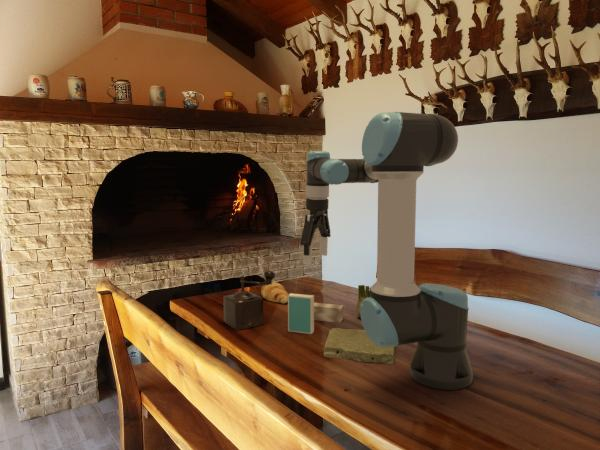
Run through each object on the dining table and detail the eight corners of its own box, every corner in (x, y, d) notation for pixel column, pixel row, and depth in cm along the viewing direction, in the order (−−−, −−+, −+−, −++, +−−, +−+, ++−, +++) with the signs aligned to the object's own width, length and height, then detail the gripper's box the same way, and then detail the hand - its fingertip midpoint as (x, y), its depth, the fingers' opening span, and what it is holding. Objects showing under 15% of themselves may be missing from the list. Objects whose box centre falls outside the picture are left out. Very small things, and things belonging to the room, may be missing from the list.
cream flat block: (311, 334, 144) (311, 297, 143) (288, 331, 147) (287, 295, 146) (314, 331, 147) (313, 295, 145) (290, 328, 150) (290, 293, 148)
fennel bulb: (375, 320, 158) (375, 286, 156) (363, 322, 156) (363, 288, 154) (365, 315, 163) (366, 282, 161) (354, 317, 161) (354, 284, 159)
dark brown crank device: (237, 331, 147) (236, 277, 145) (222, 322, 156) (221, 271, 154) (278, 322, 156) (277, 270, 154) (261, 313, 165) (261, 265, 163)
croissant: (293, 312, 178) (301, 293, 179) (272, 304, 172) (281, 285, 173) (268, 298, 196) (275, 281, 197) (249, 290, 190) (257, 273, 191)
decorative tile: (330, 336, 144) (330, 325, 143) (394, 341, 140) (394, 329, 139) (320, 360, 126) (320, 348, 125) (394, 366, 122) (394, 353, 121)
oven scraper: (289, 318, 160) (289, 304, 159) (295, 313, 166) (295, 300, 165) (339, 323, 154) (339, 309, 154) (343, 318, 160) (343, 304, 159)
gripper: (321, 193, 164) (319, 250, 168) (290, 201, 142) (289, 267, 146) (340, 194, 161) (338, 252, 165) (312, 203, 138) (310, 270, 143)
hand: (315, 259), depth 155 cm, fingers open, 13 cm apart
